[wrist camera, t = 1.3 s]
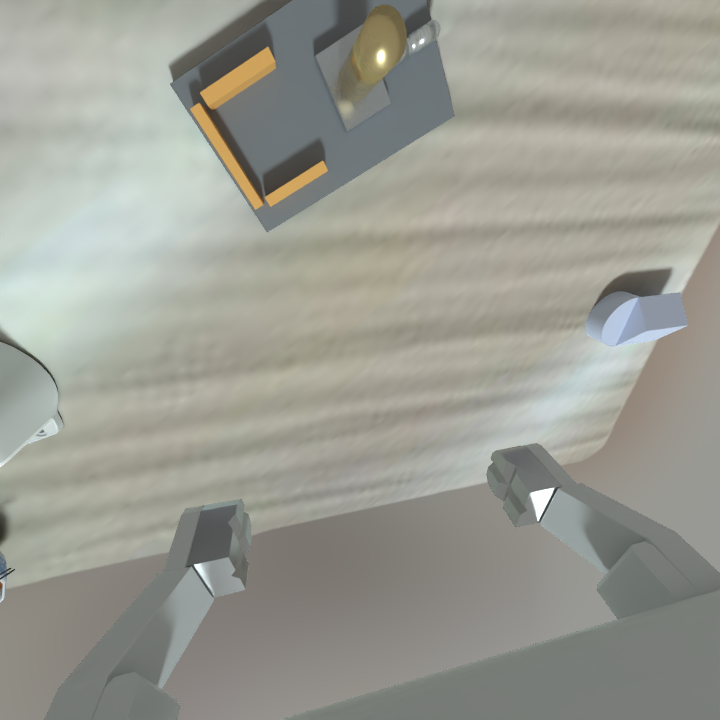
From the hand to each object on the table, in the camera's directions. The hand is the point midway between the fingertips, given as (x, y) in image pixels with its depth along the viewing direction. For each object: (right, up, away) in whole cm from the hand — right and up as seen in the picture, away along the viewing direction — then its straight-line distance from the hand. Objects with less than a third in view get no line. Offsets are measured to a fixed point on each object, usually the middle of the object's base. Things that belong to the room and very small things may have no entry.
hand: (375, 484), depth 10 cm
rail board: (-4, +30, +21) cm, 37 cm away
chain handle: (+2, +32, +19) cm, 38 cm away
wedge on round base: (+46, +12, +45) cm, 65 cm away
